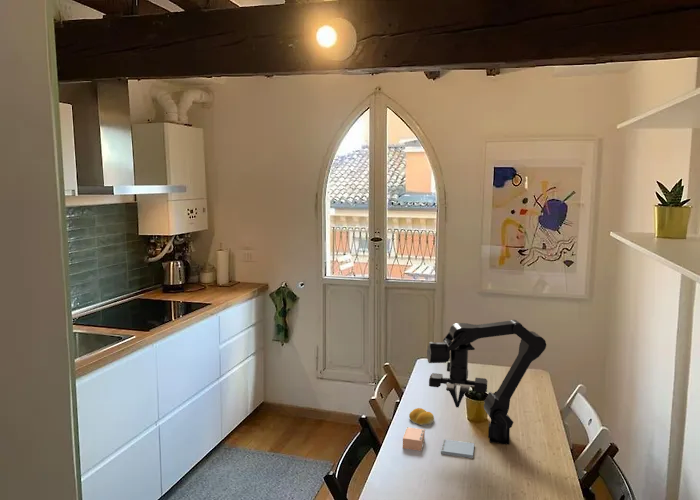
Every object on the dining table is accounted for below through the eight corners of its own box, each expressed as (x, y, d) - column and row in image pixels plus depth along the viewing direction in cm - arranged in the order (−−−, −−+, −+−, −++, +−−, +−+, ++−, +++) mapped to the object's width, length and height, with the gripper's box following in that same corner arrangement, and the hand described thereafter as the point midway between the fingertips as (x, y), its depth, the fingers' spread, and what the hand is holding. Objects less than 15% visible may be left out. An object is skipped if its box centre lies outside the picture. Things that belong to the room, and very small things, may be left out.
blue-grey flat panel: (474, 446, 179) (474, 442, 179) (472, 458, 172) (472, 454, 172) (443, 441, 182) (443, 438, 182) (440, 453, 174) (441, 450, 174)
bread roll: (424, 428, 192) (424, 417, 191) (405, 419, 199) (405, 409, 198) (439, 421, 197) (439, 411, 197) (420, 413, 204) (420, 403, 203)
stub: (424, 439, 184) (424, 429, 183) (420, 450, 176) (421, 440, 176) (406, 436, 185) (407, 426, 185) (402, 448, 178) (402, 437, 177)
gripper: (488, 356, 184) (486, 400, 186) (433, 351, 189) (432, 394, 191) (487, 368, 173) (485, 414, 176) (429, 362, 178) (428, 407, 181)
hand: (457, 407), depth 181 cm, fingers closed
